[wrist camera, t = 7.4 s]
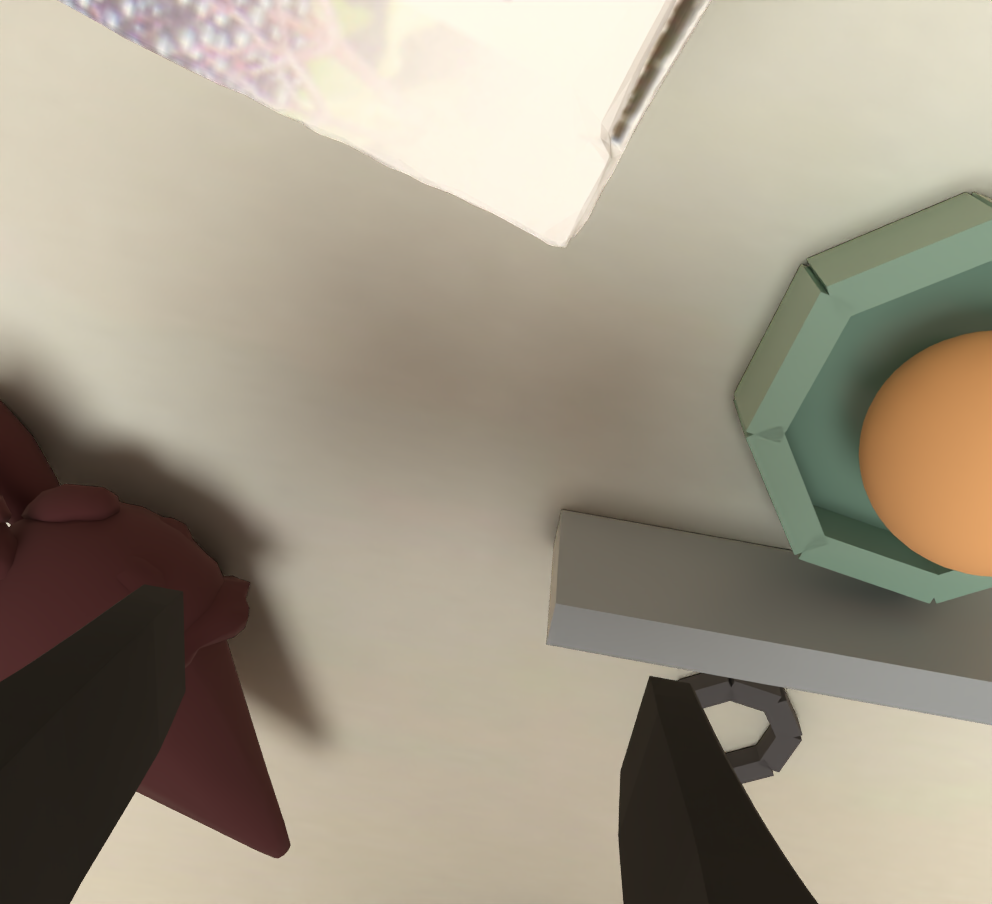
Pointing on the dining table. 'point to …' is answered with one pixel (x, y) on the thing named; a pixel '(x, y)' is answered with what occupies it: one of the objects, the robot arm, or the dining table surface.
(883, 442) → the ball
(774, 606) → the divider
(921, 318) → the dish
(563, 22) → the syrup box
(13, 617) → the icecream
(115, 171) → the dining table surface
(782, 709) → the ring
